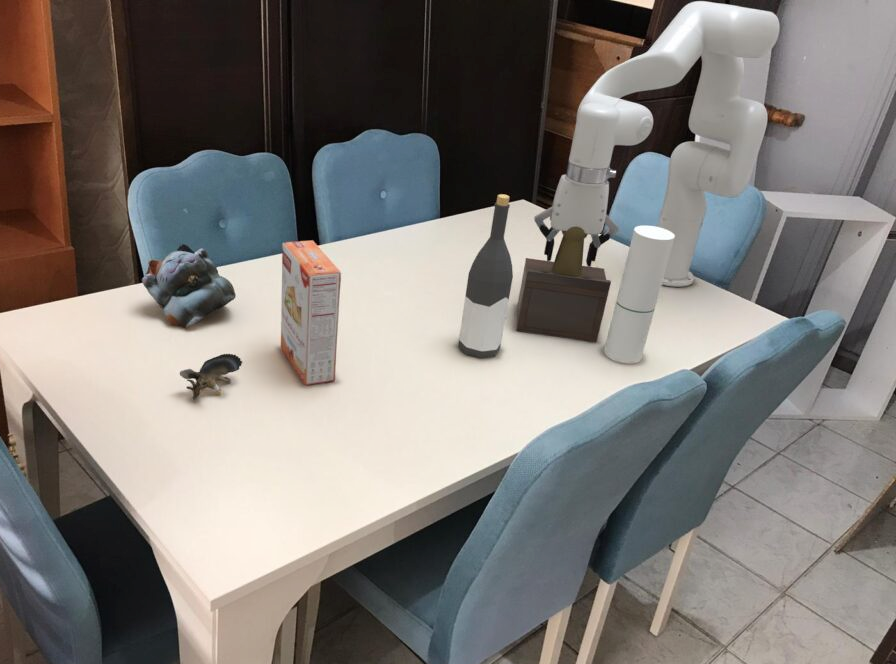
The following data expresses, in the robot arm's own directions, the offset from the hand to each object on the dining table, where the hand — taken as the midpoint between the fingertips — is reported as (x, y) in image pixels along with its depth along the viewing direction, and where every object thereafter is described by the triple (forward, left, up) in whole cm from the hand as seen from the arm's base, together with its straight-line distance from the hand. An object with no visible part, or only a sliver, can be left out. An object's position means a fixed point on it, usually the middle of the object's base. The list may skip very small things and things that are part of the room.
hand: (568, 260), depth 166 cm
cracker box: (+33, -45, -14) cm, 57 cm away
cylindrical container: (+10, +13, -14) cm, 21 cm away
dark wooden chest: (+1, 0, -14) cm, 14 cm away
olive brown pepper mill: (0, 0, -3) cm, 3 cm away
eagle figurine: (+46, -58, -14) cm, 75 cm away
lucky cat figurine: (+20, -71, -14) cm, 75 cm away
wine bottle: (+17, -15, -14) cm, 26 cm away
